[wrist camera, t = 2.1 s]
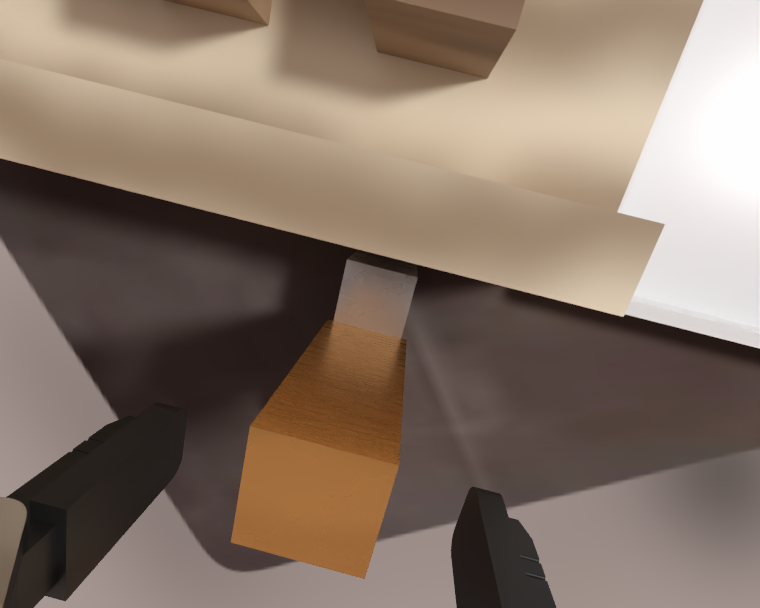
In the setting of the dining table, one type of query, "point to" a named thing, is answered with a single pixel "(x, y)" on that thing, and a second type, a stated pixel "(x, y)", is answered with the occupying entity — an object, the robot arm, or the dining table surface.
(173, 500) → the dining table surface
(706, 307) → the tray
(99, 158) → the channel board
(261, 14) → the brown wooden cube
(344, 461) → the scraper
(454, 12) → the brown cube
